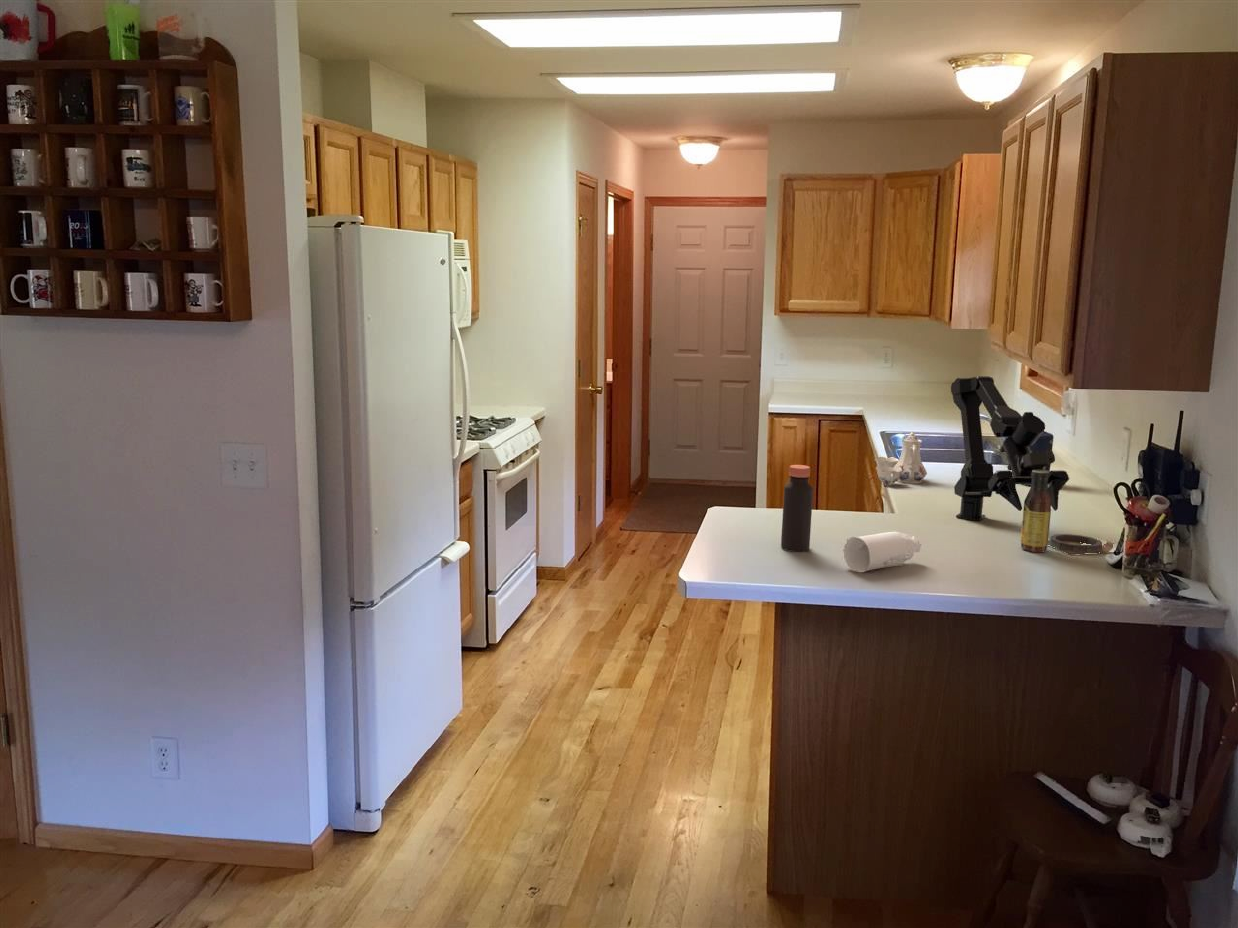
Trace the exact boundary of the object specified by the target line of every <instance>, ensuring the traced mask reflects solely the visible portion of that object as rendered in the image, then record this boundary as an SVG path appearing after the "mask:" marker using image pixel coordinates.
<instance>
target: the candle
mask: <svg viewBox="0 0 1238 928" xmlns="http://www.w3.org/2000/svg"><path fill="white" fill-rule="evenodd" d="M1053 444H1054V435H1053V433H1051V432H1047V431H1045V430H1044V431H1043V432H1042V434H1041V435H1040V436H1039V438H1038V439H1037V441H1036V442H1035V443H1034V444H1033V445H1032V446H1029V449H1030V451H1031V452H1043V451H1045V450H1052V451H1053V446H1054V445H1053ZM1051 464H1052V463H1051ZM1051 464H1049V466H1045V467H1043V470H1047V471H1049V472H1050V471H1051V466H1052V465H1051Z"/></svg>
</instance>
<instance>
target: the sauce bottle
mask: <svg viewBox="0 0 1238 928" xmlns="http://www.w3.org/2000/svg"><path fill="white" fill-rule="evenodd" d="M1049 475H1050V472H1049V471H1047V470H1040V469H1037V470H1032V474H1031V476H1032V483H1031V485H1030V489H1029V491H1028V493H1027V494H1026V497H1025V499H1024V500H1023V509H1022V510H1023V511H1022V523H1021V534H1020V546H1021V549H1022V548H1023V549H1026V550H1025V551H1027V550H1028V551H1027V552H1031V551H1033V553H1043V551H1044V552H1047V549H1048V546H1047V544H1048V541H1049V538H1050V524H1051V514H1052V506H1051V497H1050V494H1049V493H1048V491H1047V489H1048V478H1049ZM1023 549H1022V550H1023Z"/></svg>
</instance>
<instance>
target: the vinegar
mask: <svg viewBox="0 0 1238 928" xmlns="http://www.w3.org/2000/svg"><path fill="white" fill-rule="evenodd" d="M788 467H789V468H788V469H789V470H788V475H789V476H788V477H789V481H788V482H787V483H786V484H785V485H784V488H783V502H782V503H783V504H782V520H781V521H782V523H781V537H780V539H781V540H780V541H781V542H780V547H781V548H782V549H783V550H785V549H786V551H789V550H790V552H806V551H808V550H809V549H810V546H811V528H812V512H813V494H814V488H813V486H812V485H811V484H810V482H809V479H810V475H811V467H810V466H808V465H803V464H792V465H790V466H788Z"/></svg>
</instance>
